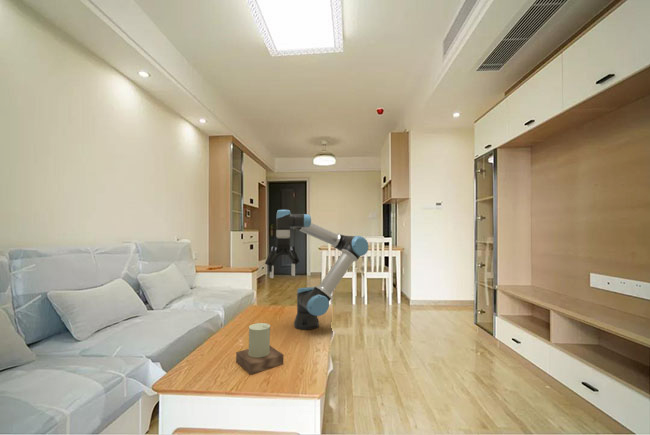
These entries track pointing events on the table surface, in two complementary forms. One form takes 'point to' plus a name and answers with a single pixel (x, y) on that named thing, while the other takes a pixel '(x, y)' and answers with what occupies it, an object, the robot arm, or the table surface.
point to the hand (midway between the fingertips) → (282, 276)
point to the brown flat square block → (259, 361)
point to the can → (259, 340)
